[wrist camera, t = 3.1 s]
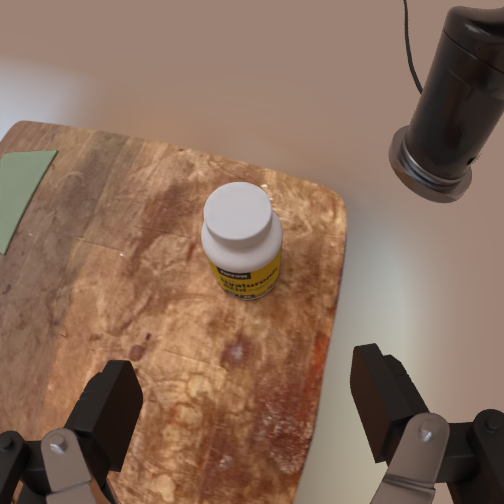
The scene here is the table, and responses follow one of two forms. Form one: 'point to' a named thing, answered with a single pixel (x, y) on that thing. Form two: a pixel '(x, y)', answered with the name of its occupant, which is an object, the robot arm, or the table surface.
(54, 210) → the table surface
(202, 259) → the table surface
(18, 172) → the mat
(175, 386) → the table surface
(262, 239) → the supplement bottle
